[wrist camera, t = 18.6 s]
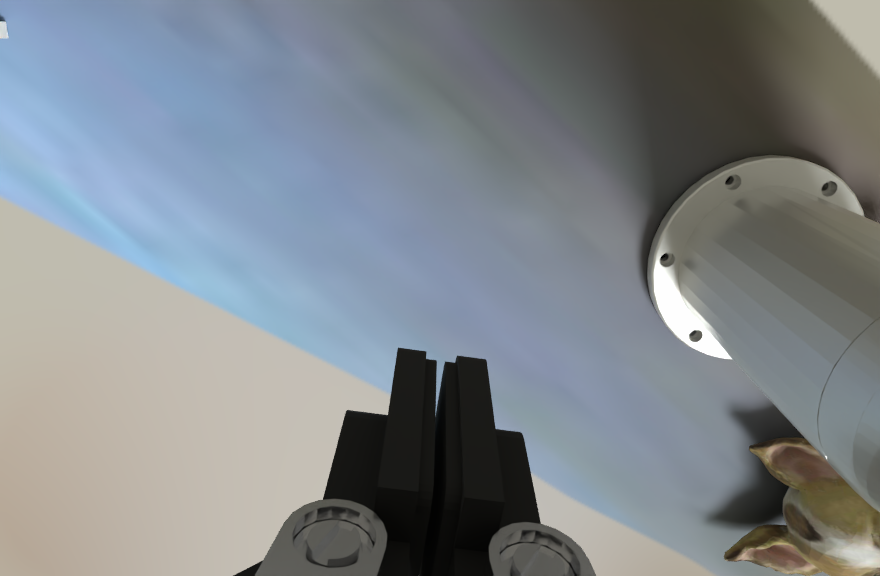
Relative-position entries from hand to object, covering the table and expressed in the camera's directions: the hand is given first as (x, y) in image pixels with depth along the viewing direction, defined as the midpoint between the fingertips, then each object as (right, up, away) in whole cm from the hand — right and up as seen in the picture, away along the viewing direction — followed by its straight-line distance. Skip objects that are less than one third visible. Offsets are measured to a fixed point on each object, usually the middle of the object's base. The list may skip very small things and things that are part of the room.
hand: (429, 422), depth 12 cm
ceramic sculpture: (+27, -11, +33) cm, 45 cm away
